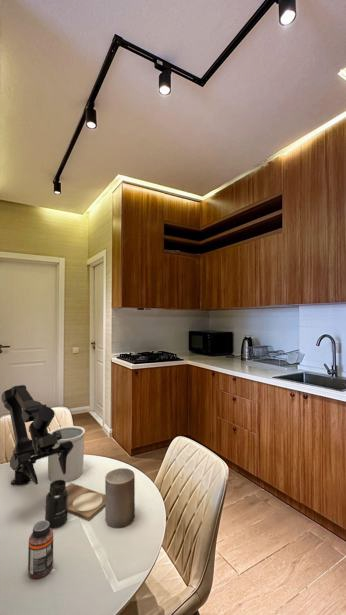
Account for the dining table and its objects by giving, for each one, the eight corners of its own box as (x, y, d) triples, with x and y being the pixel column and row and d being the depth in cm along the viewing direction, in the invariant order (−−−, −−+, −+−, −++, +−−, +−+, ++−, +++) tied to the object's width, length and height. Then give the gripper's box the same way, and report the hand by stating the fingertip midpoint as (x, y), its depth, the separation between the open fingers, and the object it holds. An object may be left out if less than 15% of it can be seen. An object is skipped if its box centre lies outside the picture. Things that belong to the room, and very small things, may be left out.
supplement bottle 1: (33, 560, 78) (34, 517, 79) (55, 559, 79) (56, 516, 79) (23, 580, 72) (25, 533, 73) (48, 579, 73) (49, 532, 73)
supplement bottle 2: (59, 531, 89) (60, 491, 90) (40, 527, 91) (41, 488, 91) (72, 516, 96) (72, 479, 97) (53, 513, 98) (54, 476, 98)
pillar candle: (139, 511, 99) (139, 466, 100) (127, 531, 89) (127, 481, 90) (113, 506, 101) (113, 462, 102) (99, 525, 92) (99, 476, 93)
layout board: (45, 503, 103) (45, 499, 103) (71, 486, 113) (71, 482, 114) (88, 521, 94) (88, 516, 94) (112, 500, 105) (112, 496, 105)
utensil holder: (89, 477, 120) (89, 433, 121) (50, 488, 112) (52, 442, 113) (78, 462, 132) (79, 423, 133) (43, 471, 124) (44, 430, 125)
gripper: (17, 431, 96) (27, 478, 87) (71, 418, 109) (85, 458, 100) (9, 448, 101) (19, 494, 93) (62, 433, 114) (74, 473, 106)
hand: (51, 478), depth 98 cm, fingers open, 9 cm apart
